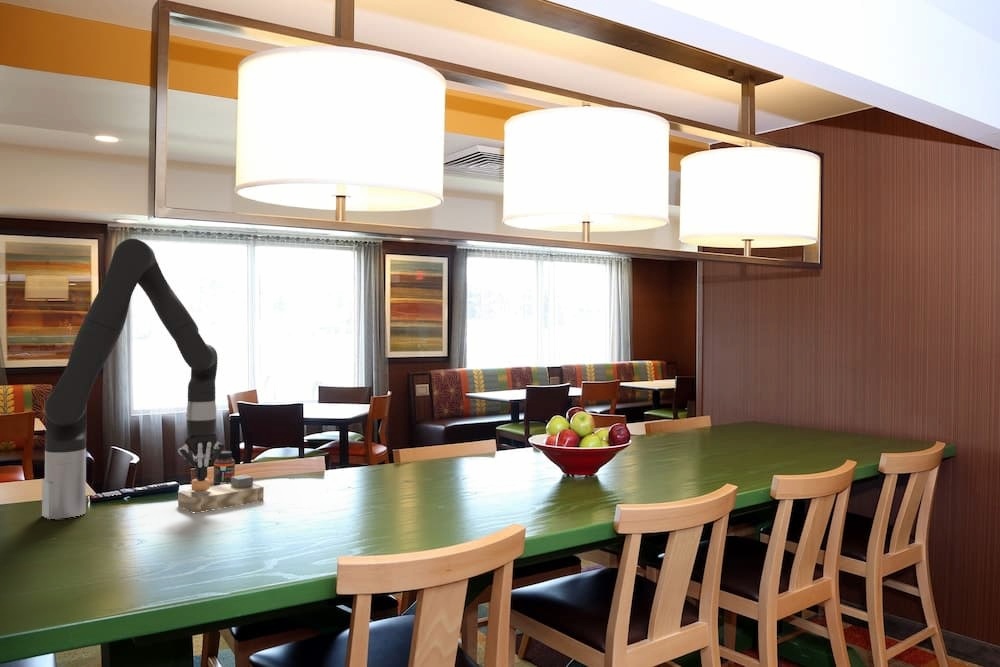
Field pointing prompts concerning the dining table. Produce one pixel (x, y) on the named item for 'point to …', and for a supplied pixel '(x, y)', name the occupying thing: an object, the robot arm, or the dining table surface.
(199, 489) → the round knob
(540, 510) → the dining table surface
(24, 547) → the dining table surface
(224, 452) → the supplement bottle
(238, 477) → the square knob
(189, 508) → the mount
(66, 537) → the dining table surface
